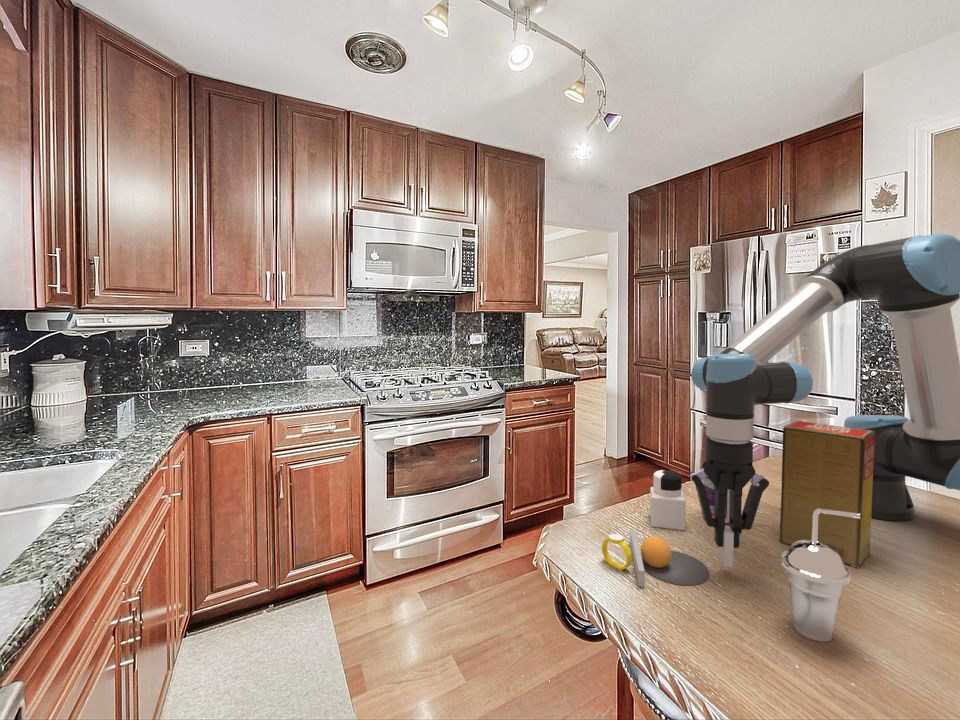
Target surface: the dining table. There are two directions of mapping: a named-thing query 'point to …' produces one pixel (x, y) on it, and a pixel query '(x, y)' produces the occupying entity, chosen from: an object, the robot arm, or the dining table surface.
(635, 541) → the wall
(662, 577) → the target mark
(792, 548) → the cup with straw
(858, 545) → the food packaging
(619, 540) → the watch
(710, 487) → the pill bottle
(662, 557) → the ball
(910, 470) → the robot arm
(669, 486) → the medicine bottle
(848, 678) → the dining table surface
